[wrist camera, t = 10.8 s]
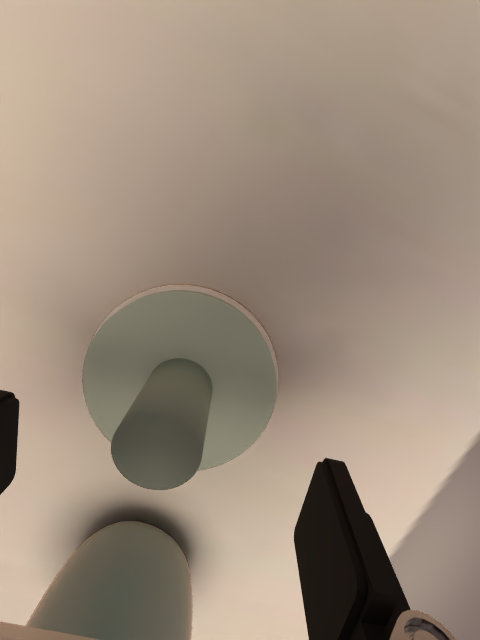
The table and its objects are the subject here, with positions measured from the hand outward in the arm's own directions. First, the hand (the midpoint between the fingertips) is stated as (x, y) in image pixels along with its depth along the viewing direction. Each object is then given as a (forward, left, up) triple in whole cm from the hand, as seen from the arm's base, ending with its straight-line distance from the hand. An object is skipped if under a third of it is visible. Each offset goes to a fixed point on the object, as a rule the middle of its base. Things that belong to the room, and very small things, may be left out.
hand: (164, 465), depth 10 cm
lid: (+1, 0, -7) cm, 7 cm away
